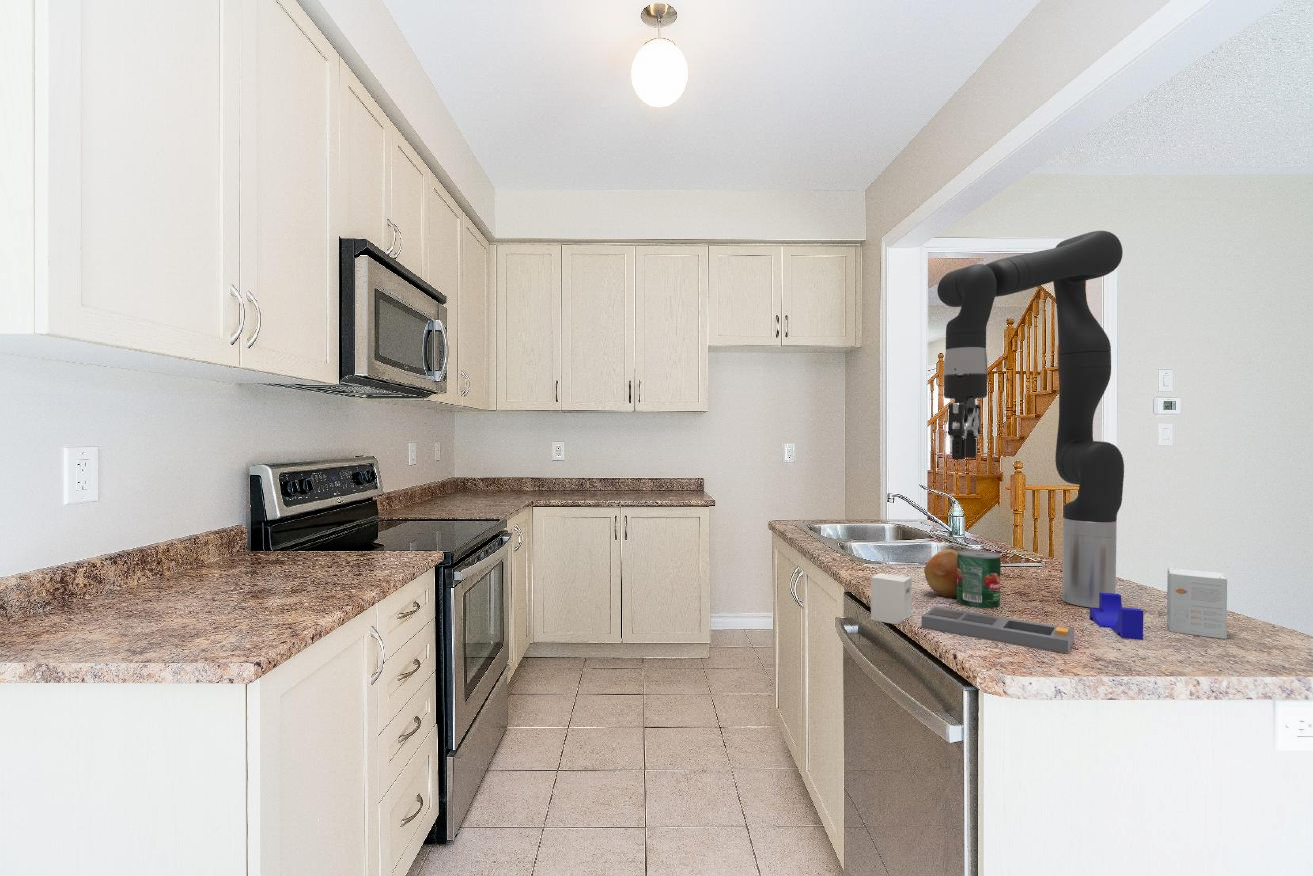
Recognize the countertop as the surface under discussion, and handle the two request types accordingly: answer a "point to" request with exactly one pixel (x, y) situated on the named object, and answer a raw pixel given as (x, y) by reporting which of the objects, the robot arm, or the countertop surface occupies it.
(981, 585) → the canned tomato
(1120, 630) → the cable clip
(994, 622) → the power strip
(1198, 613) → the small box
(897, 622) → the block
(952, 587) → the onion
